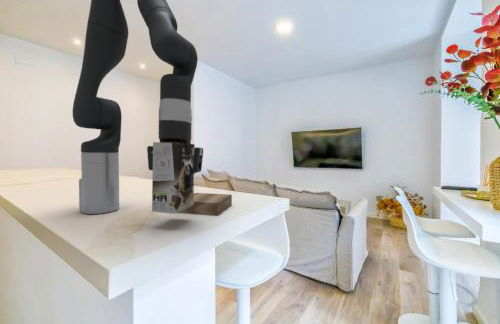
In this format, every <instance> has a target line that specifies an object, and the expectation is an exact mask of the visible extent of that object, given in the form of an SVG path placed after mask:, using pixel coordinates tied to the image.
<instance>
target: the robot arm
mask: <svg viewBox="0 0 500 324" xmlns="http://www.w3.org/2000/svg"><path fill="white" fill-rule="evenodd" d="M136 1H137V7H138V11H139V12H140V14H141V15H140V16H141V18H142V19H143V20H144V23H145V25H146V27H147V29H148V35H149V40H150V45H151V49H152V51H153V52H154V54H155V55H156V57H157V58H158V59H160V60H161V61H162V62H164V63H166V64H168V65H170V66H172V68H173V69H172V73H166V74H163V76H161V78H160V83H159V91H160V92H159V99H160V100H159V105H158V140H159V143H161V142H177V143H185V156H187V154H188V156H189V154H190V153H191V152H192V155H193V156H194V158H193V167H192V163H191V161H190V160H189V162H185V161H183V164H184V171H185V174H186V175H185V180H184V190H185V191H189V190H191V188H192V187H193V175H194V176H195V174H197V173H200V172H202V168H203V157H204V148H203V147H197V146H196V147H192V145H191V144H192V120H193V117H192V116H193V113H192V104H191V103H192V84H193V81H194V78H195V74H196V70H197V66H198V52H197V49H196V47H195V46H194V44H193V43H192V42H191V41H189V40H188V39H186V38H185V37H184V36H182V35H181V34H180V33H178V22H177V19H176V17H175V14H174V13H173V11H172V9H171V7H170V5H169V4H168V1H167V0H136ZM121 2H122V1H121V0H91V1H90V6H89V12H88V17H87V19H88V20H87V24H86V29H85V30H86V33H85V39H84V48H83V56H82V57H83V58H82V62H81V63H82V65H81V69H80V75H79V78H78V83H77V87H76V91H75V95H74V99H73V105H72V119H73V122H74V124H75V126H77V127H79V128H83V129H89V130H91V129H92V130H100V131H99V132H100V134H99V135H98V136H97V137H95V138H93V139H90V140H86V141H84V142H82V143H81V145H80V152H81V154H80V163H81V166H80V167H81V168H80V170H81V178H78V203H79V204H78V205H79V208H78V209H79V212H81V213H82V214H86V215H87V214H88V215H98V214H106V213H112V212H115V211H118V210H119V209H120V163H119V162H120V159H119V158H120V157H119V156H120V155H119V153H120V152H119V151H120V149H119V148H120V145H121V140H122V139H121V136H122V135H121V134H122V117H123V116H122V109H121V106H120V105H119V103H118V102H117V101H115V100H112V99H108V98H104V97H99V96H98V92H99V89H100V86H101V83H102V81H103V80H104V78H106V76H107V75H108V74H110V72H111V71H112V70H113V69H115V68H116V67H117V66H118V65H120V63H121V62H122V60H123V58H124V57H125V54H126V49H127V45H128V44H127V43H128V40H129V27H128V22H127V18H126V15H125V11H124V9H123V5H122V3H121ZM146 150H147V151H146V152H147V163H148V164H147V165H148V170H149V171H152V172H153V145H148V146H147V148H146Z"/></svg>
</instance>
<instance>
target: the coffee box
mask: <svg viewBox="0 0 500 324" xmlns="http://www.w3.org/2000/svg"><path fill="white" fill-rule="evenodd" d="M191 145H192V147H195V146H196V145H195V143H194V144H193V143H191ZM152 146H153V171H152V176H151V178H152V185H151V186H152V187H151V188H152V189H151V192H152V193H151V194H152V195H151V211H152V212H154V213H163V214H170V215H171V214H173V215H176V214H179V213H178V212H180V211H182V210H184V209H186V208H188V207H190V206H192V205H193V202H194V192H195V190H194V189H195V174H194V175H193V187H192V188H191V190H189V191H185V190H184V180H185V175H186V174H185V171H184V164H183V161H185V162H189V160H190V161H191V163H192V167H193V158H194V156H193V155H192V152H191V153H190V154H189V156H188V154H187V156H185V143H177V142H161V143H160V141H159V142H156V141H155V142H154V141H153V142H152ZM195 148H196V147H195Z"/></svg>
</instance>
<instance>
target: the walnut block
mask: <svg viewBox="0 0 500 324" xmlns="http://www.w3.org/2000/svg"><path fill="white" fill-rule="evenodd" d="M232 196H233V194H228V193H227V194H226V193H206V192H195V193H194V202H193V205H192V206H190V207H188V208H186V209H184V210H182V211H180V212H178V213H177V214H187V215H188V214H189V215H200V216H201V215H203V216H214V217H215V216H216V217H219V216H220V215H221V214H223V212H225V211H227V210H228V209H229V208H230V207H231V206H232V205H233V197H232Z"/></svg>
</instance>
